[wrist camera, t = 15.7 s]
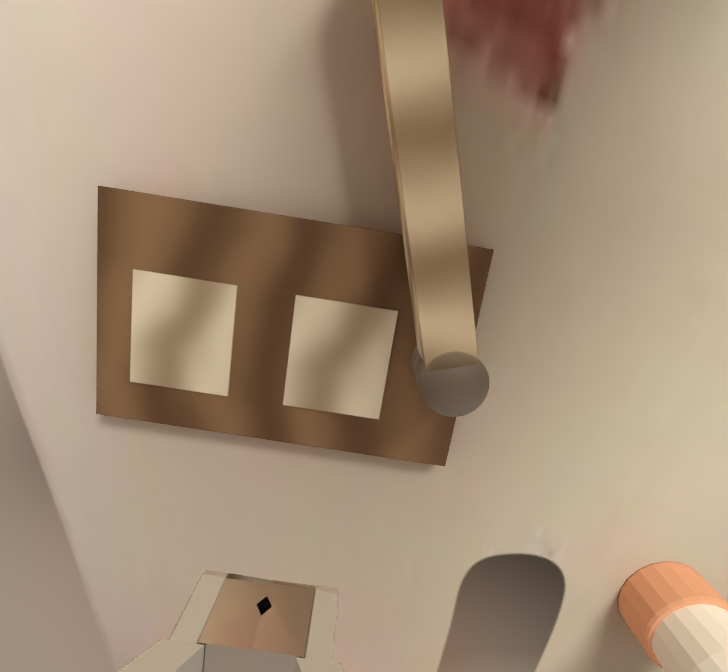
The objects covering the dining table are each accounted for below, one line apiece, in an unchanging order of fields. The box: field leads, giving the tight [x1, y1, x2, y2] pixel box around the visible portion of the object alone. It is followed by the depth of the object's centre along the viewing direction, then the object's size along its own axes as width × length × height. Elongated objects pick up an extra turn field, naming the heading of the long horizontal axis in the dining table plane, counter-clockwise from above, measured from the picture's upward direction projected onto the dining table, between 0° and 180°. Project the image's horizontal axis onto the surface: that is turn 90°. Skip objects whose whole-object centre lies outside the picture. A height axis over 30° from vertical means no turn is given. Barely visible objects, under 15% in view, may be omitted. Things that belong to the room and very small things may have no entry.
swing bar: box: [371, 0, 489, 417], centre depth 22 cm, size 28×4×4 cm, turn 9°
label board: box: [96, 186, 493, 466], centre depth 28 cm, size 26×16×2 cm, turn 81°
